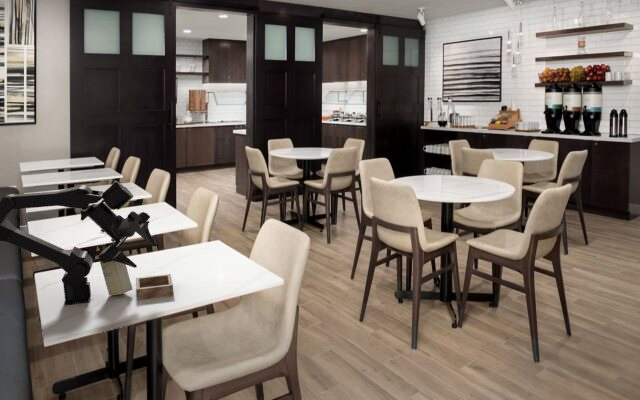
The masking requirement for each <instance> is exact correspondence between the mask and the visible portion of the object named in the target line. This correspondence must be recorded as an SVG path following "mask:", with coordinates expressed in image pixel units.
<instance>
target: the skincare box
mask: <svg viewBox="0 0 640 400" xmlns="http://www.w3.org/2000/svg"><path fill="white" fill-rule="evenodd" d="M99 264H100V267H101V270H102V274H103V277H104V282H105V285H106V289H107V293H108V296H117V295H118V296H119V295H122V294H125V293H128V292H129V291H132V290H133V285H132V282H131V279H130V275H129V272H128V268H127V267H128V266H127V265H126V264H123V263H119V262H115V261H111V262H106V263H102V262H101V261H100V260H99Z"/></svg>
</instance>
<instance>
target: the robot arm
mask: <svg viewBox="0 0 640 400" xmlns="http://www.w3.org/2000/svg"><path fill="white" fill-rule="evenodd" d="M133 198H134V195H133V193H132V192H131V191H130V190H129V189H128V187H126V186H124V185H123V184H121V182H120V183H119V181H117V180H115V181H113V183H112V184H111V186H109V187H108V188H106V189H105V191H104V190H103V191H102V190H97V189H92V188H91V187H89V186H88V185H84V184H81V185H77V186H73V187H68V188H66V189H62V190H57V191H45V192H44V191H43V192H32V193H20V194H19V193H18V194H17V193H15V194H14V193H9V194H7V195H4V196H3V197H2V198H1V199H0V242H3V243H8V244H11V245H13V246H15V247H18V248H21V249H22V250H25V251H26V252H29V253H32V254H34V255H36V256H39V257H41V258H44V259H45V260H48V261H50V262H52V263H55V264H57V265H58V266H59V267H60V268H61V269H62V270H63V271H64V274H63V276H62V278H61V281H62V285H63V293H64V294H63V295H64V302H63V303H64V306H65V305H67V306H68V305H74V304H80V303H81V304H82V303H88V302H90V301H89V300H90V298H91V296H92V290H91V282H90V281H88V275H89V274H90V272H91V270H92V267H93V264H94V263H93V262H94V260H93V257H92V256H91V255H90V254H88V250H87V251H86V250H81V249H80V248H78V247H77V246H73V248H72V249H64V248H62V247H60V246H58V245H56V244H53V243H50V242H49V241H46V240H43V238H40V237H37V236H35V235H33V234H31V233H28V232H26V231H24V230H22V229H19V228H18V227H16V226H15V225H14V224H13V223H12V222H11V221H10V220H8V219H7V217H8V216H9V215H10V214H11V212H12V211H13V210H21V209H33V208H35V209H36V208H46V207H47V208H48V207H65V208H71V209H81V210H80V221H84V220H85V219H87V217H88V218H89V219H90V220H91V221H93V223H94V224H95V225H97V226H98V227H99V228H100V232H101V233H105V234H107V235H108V237H109V238H111V239H110V241H111V242H112V244H110V245H107V246H106V247H105V248H104V249H103V250H102V251H101V252H100V253H99V254H98V259H99V260H98V261H99V262H100V261H101V262H102V263H106V262H111V261H115V262H119V263H123V264H126V266H127V267H128V266H129V267H131V268H134V269H136V268H137V267H138V265H137V264H135V262H133V260H131V259H130V258H129V257H127V256H126V255H125V253H124V251H123V250H120V249H119V248H120V246H122V245H123V243H125V241H126V240H127V239H128V238H132V237H134V235H135V233H136V234H137V235H139V236H140V237H141V238H142V239H143V240H144V241H146V242H147V243H148V244H149V245H151V246H153V247H156V243H155V241H154V239H153V237H152V234H151V232H150V230H149V223H150V219H151V215H149V214H148V213H147V212H145V211H142V212H139V213H137V212H135V211H130V212H129V213H128V214H127V216H126V218H124V217H123V216H122V215H120V214H118V215H117V214H116V213H115V212H114V210H117V211H118V210H120V209H122V208H123V207H124V206H125V205H127V203H128V202H130V201H131V200H132V199H133Z"/></svg>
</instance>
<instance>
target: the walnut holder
mask: <svg viewBox="0 0 640 400" xmlns="http://www.w3.org/2000/svg"><path fill="white" fill-rule="evenodd" d="M135 290H136V291H135V292H136V301H139V300H140V301H141V300H149V299H157V298H165V297H173V296H174V285H173V280H172V275H171V273H168V274H158V275H151V276H150V275H149V276H141V277H136V278H135Z"/></svg>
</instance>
